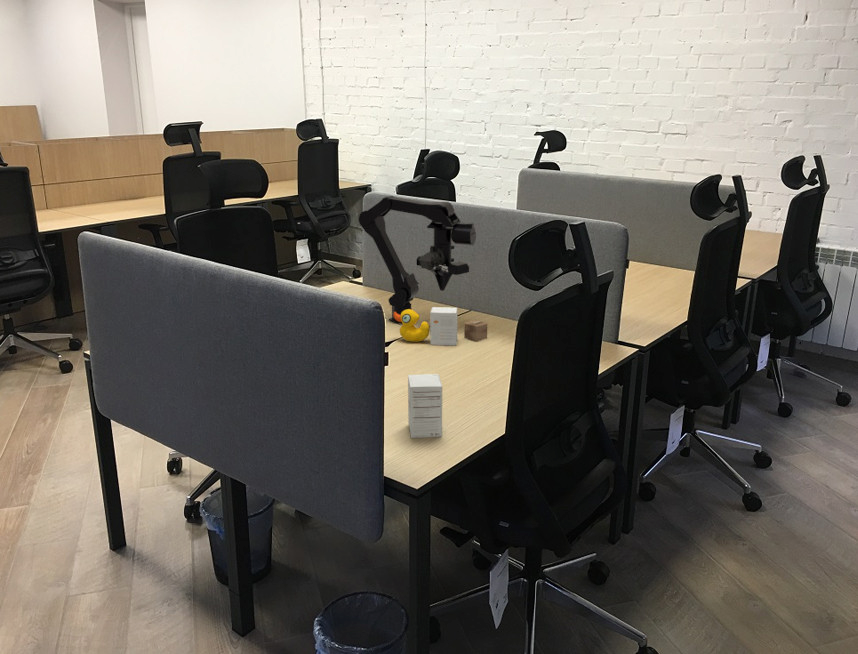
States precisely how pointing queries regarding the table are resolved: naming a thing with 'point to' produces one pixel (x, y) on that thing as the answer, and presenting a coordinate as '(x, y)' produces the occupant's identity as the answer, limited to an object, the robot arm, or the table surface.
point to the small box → (443, 326)
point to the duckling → (412, 326)
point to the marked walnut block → (475, 330)
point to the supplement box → (425, 405)
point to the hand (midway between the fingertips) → (442, 290)
